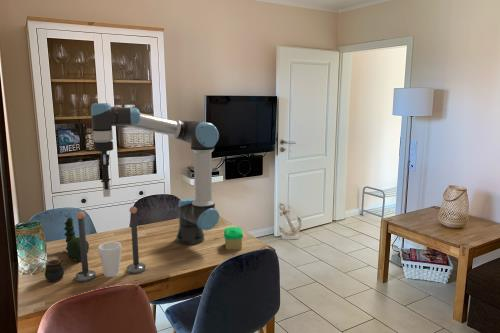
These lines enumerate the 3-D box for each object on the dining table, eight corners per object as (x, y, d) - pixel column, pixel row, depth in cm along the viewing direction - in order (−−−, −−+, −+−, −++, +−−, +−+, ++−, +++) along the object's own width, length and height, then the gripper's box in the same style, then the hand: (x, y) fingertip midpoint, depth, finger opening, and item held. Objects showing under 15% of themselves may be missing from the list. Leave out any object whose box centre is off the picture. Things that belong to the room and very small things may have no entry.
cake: (224, 250, 192) (224, 232, 191) (223, 242, 203) (223, 225, 201) (243, 250, 193) (243, 231, 192) (242, 242, 204) (242, 224, 202)
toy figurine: (61, 254, 192) (72, 267, 172) (57, 217, 190) (68, 226, 170) (81, 249, 197) (94, 262, 177) (77, 214, 195) (90, 222, 175)
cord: (139, 264, 173) (136, 205, 168) (140, 267, 170) (137, 207, 165) (132, 265, 172) (128, 206, 167) (132, 268, 169) (129, 208, 164)
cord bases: (144, 264, 176) (144, 261, 176) (146, 272, 169) (146, 268, 168) (76, 275, 166) (75, 271, 165) (75, 283, 158) (74, 279, 158)
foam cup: (100, 280, 161) (98, 251, 159) (99, 271, 170) (97, 243, 167) (124, 276, 165) (122, 247, 163) (121, 267, 173) (120, 240, 171)
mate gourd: (66, 274, 166) (64, 253, 164) (61, 283, 159) (59, 261, 157) (49, 275, 165) (46, 254, 163) (42, 284, 157) (40, 262, 155)
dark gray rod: (89, 271, 165) (84, 210, 160) (89, 274, 162) (84, 212, 157) (81, 272, 164) (76, 211, 159) (81, 276, 161) (76, 213, 156)
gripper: (93, 139, 161) (97, 193, 166) (93, 143, 149) (97, 201, 154) (112, 139, 164) (115, 191, 168) (113, 142, 152) (116, 199, 156)
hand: (106, 196), depth 161 cm, fingers closed
